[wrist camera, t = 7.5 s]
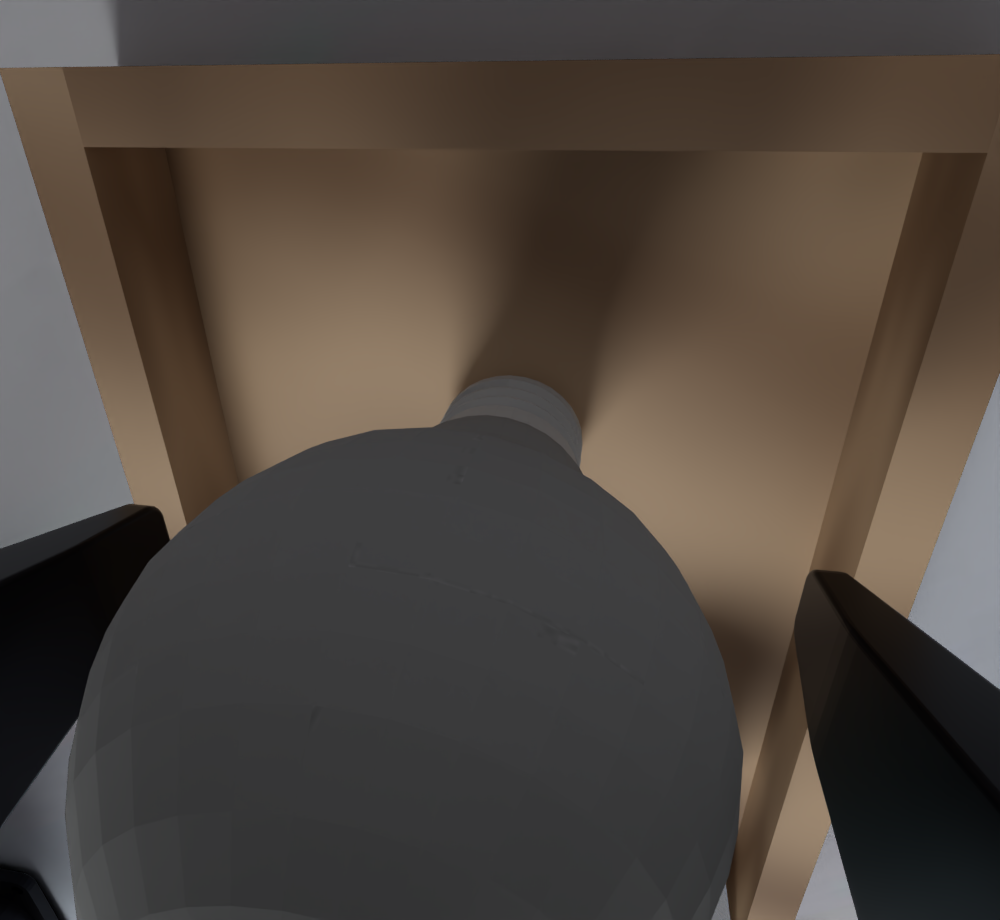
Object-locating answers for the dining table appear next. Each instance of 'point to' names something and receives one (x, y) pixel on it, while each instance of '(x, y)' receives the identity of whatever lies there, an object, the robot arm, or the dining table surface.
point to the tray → (565, 307)
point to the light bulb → (410, 696)
